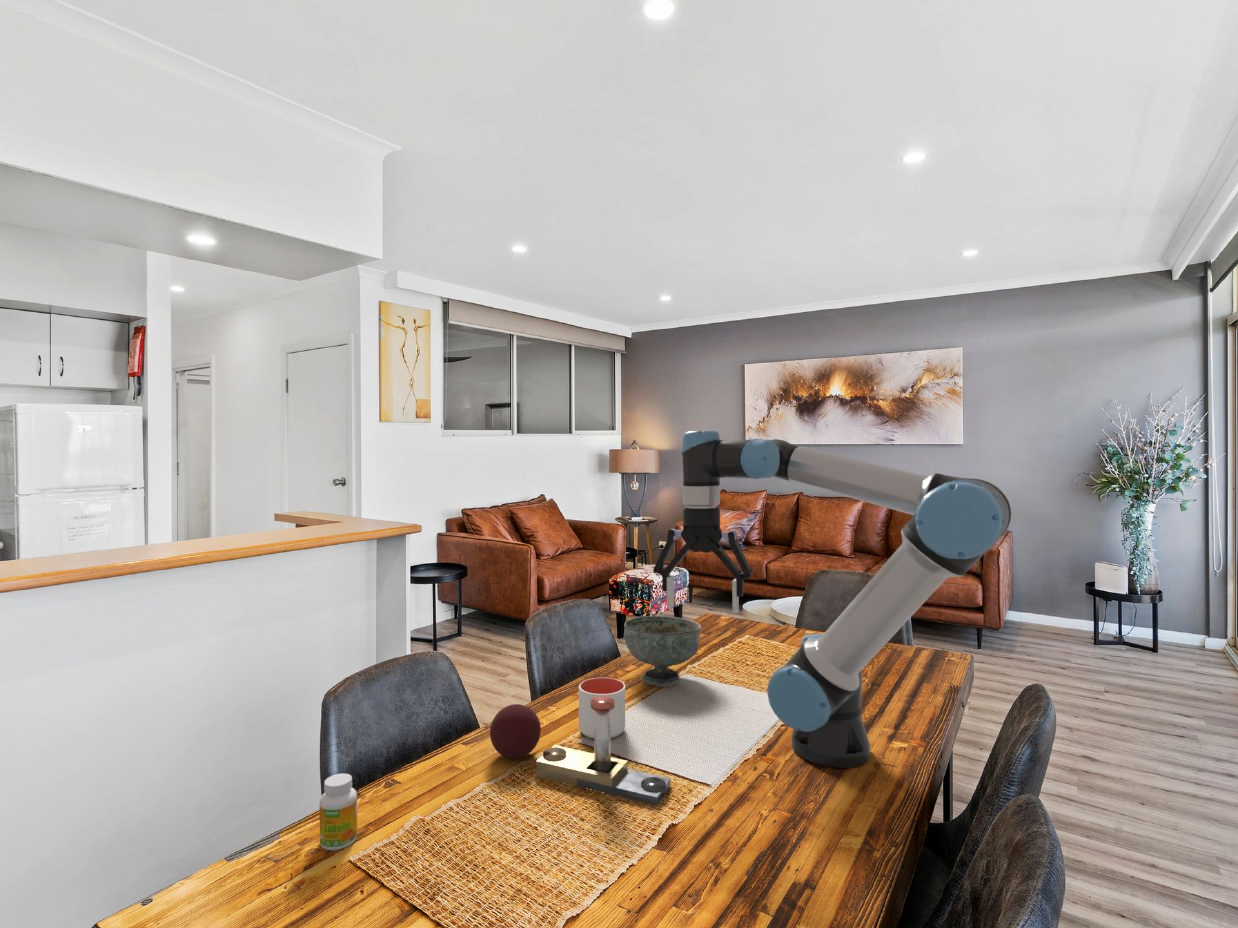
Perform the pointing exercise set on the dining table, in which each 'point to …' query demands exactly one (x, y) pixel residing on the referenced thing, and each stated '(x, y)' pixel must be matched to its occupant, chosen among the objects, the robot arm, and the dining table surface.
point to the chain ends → (600, 775)
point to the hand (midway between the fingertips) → (702, 609)
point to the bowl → (662, 645)
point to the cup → (598, 689)
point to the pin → (602, 733)
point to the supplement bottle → (338, 813)
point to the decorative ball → (515, 731)
